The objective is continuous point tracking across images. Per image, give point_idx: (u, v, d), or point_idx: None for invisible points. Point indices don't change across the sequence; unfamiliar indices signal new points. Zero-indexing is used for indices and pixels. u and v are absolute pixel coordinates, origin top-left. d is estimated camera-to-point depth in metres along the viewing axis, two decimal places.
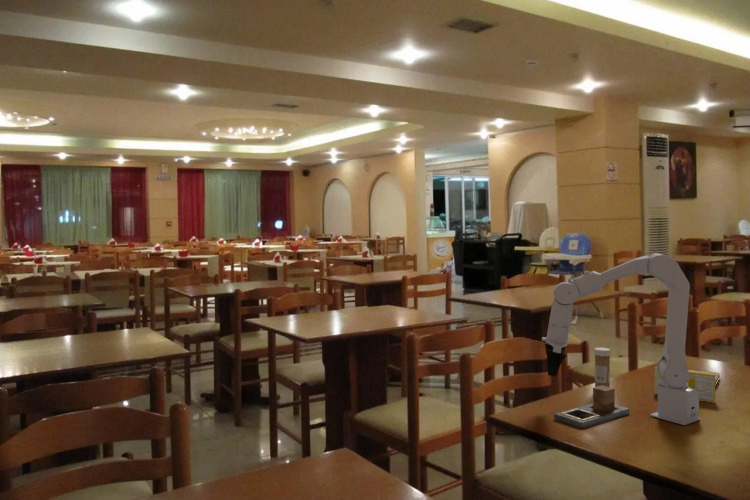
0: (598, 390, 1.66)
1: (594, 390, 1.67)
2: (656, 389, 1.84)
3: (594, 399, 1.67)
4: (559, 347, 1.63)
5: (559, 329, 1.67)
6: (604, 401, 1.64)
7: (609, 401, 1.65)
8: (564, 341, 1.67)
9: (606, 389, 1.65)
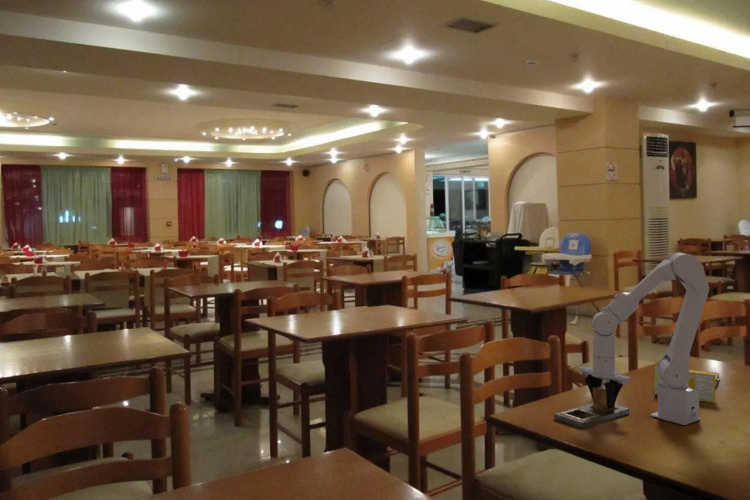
0: (598, 390, 1.66)
1: (594, 390, 1.67)
2: (656, 389, 1.84)
3: (594, 399, 1.67)
4: (628, 378, 1.61)
5: (613, 360, 1.64)
6: (604, 401, 1.64)
7: None
8: None
9: None
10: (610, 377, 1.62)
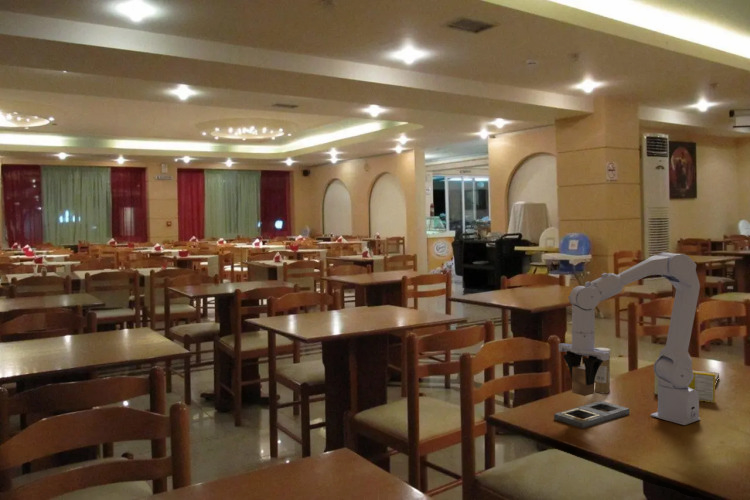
0: (577, 369, 1.60)
1: (573, 369, 1.62)
2: (656, 389, 1.84)
3: (573, 378, 1.62)
4: (607, 354, 1.55)
5: (592, 335, 1.58)
6: (583, 380, 1.59)
7: None
8: None
9: None
10: (589, 352, 1.57)
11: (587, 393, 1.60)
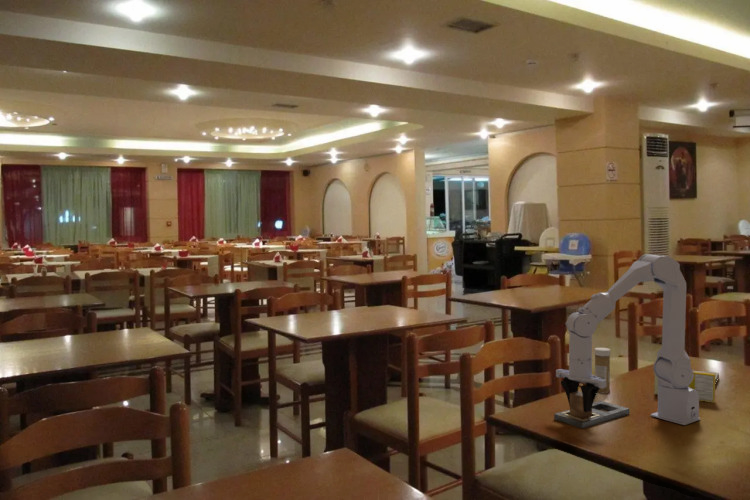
0: (575, 396, 1.60)
1: (571, 396, 1.61)
2: (656, 389, 1.84)
3: (571, 405, 1.61)
4: (605, 381, 1.55)
5: (589, 362, 1.58)
6: (581, 407, 1.59)
7: None
8: (591, 373, 1.60)
9: None
10: (586, 380, 1.57)
11: None
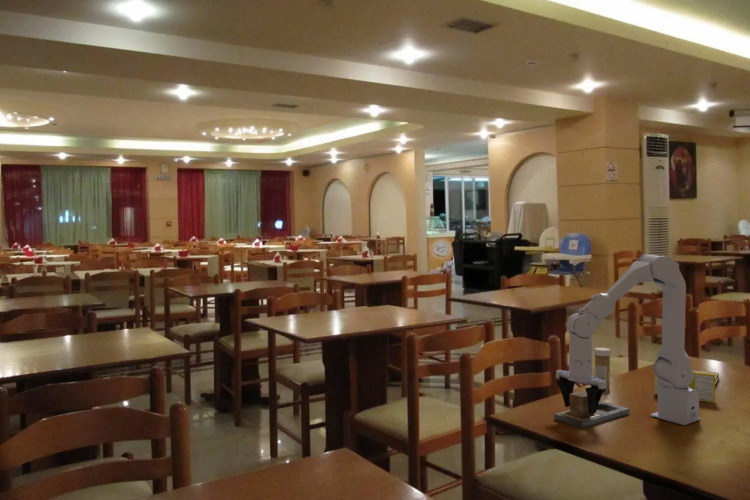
0: (575, 396, 1.60)
1: (571, 396, 1.61)
2: (656, 389, 1.84)
3: (571, 405, 1.61)
4: (605, 382, 1.55)
5: (589, 363, 1.58)
6: (581, 408, 1.59)
7: (586, 407, 1.59)
8: (591, 374, 1.60)
9: (583, 395, 1.60)
10: (586, 381, 1.57)
11: None
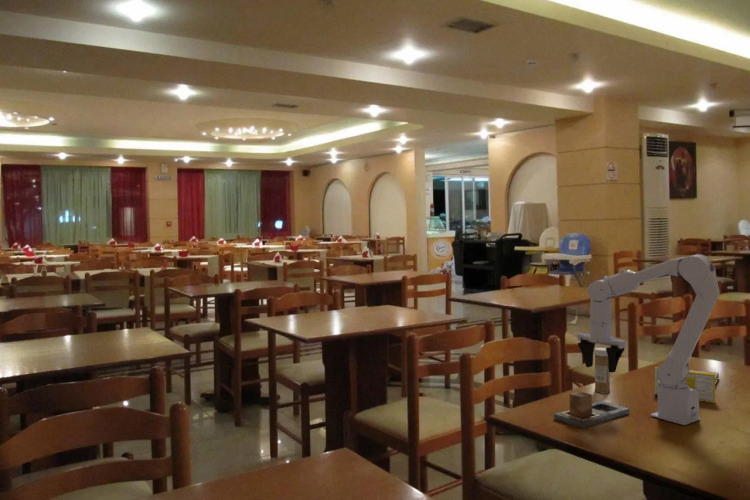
0: (575, 396, 1.60)
1: (571, 396, 1.61)
2: (656, 389, 1.84)
3: (571, 405, 1.61)
4: (624, 342, 1.67)
5: (609, 325, 1.71)
6: (581, 408, 1.59)
7: (586, 407, 1.59)
8: None
9: (583, 395, 1.60)
10: (607, 341, 1.69)
11: None
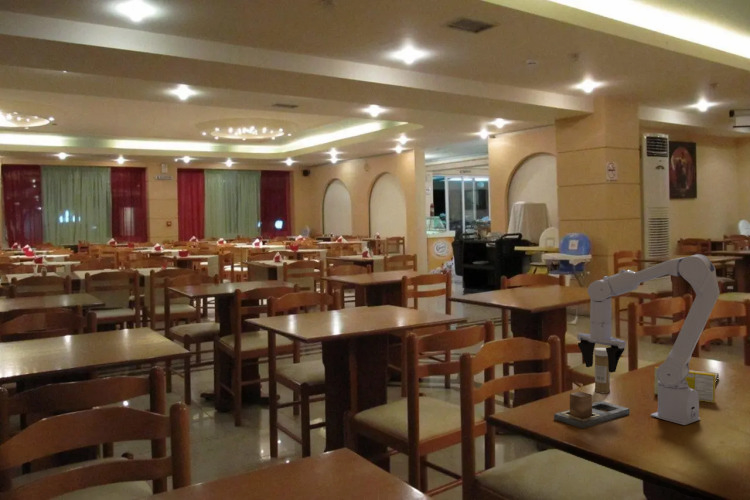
0: (575, 396, 1.60)
1: (571, 396, 1.61)
2: (656, 389, 1.84)
3: (571, 405, 1.61)
4: (624, 342, 1.67)
5: (609, 325, 1.71)
6: (581, 408, 1.59)
7: (586, 407, 1.59)
8: None
9: (583, 395, 1.60)
10: (607, 341, 1.69)
11: None
